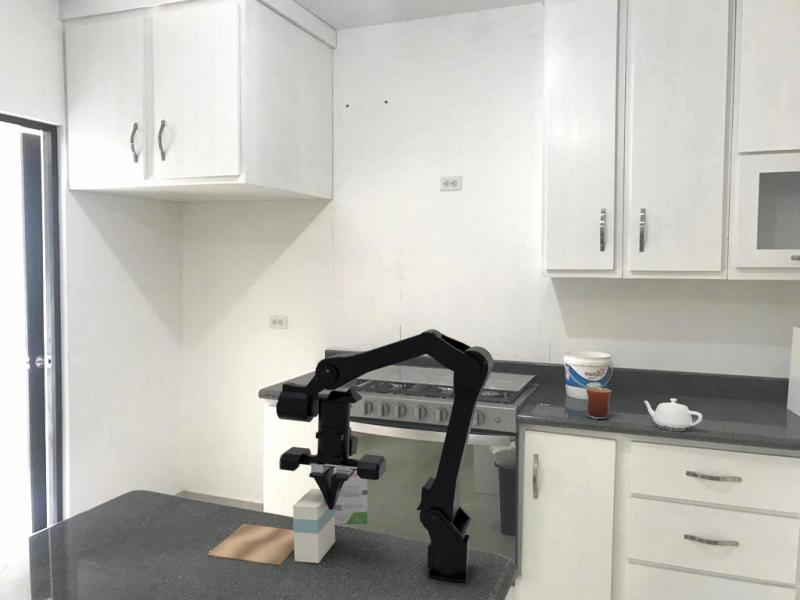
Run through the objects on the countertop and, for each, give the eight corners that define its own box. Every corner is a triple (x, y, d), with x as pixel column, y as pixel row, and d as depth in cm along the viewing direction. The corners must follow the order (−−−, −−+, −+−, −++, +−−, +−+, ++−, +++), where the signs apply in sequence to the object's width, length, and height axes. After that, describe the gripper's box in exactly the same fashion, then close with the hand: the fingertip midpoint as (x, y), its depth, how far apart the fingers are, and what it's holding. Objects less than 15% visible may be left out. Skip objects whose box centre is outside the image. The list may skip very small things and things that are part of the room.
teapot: (634, 425, 218) (635, 396, 217) (649, 419, 226) (651, 391, 226) (693, 437, 203) (695, 406, 203) (708, 430, 212) (709, 401, 211)
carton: (335, 541, 120) (334, 489, 119) (318, 563, 111) (317, 507, 110) (312, 539, 121) (311, 488, 120) (294, 561, 112) (292, 505, 111)
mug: (614, 421, 222) (615, 392, 222) (590, 421, 222) (592, 392, 221) (600, 413, 234) (601, 385, 234) (577, 413, 233) (578, 385, 233)
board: (309, 533, 123) (309, 532, 123) (279, 565, 110) (279, 564, 110) (243, 524, 126) (243, 523, 126) (207, 555, 113) (207, 554, 113)
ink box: (366, 515, 133) (367, 460, 132) (367, 525, 128) (368, 468, 127) (325, 516, 132) (326, 460, 131) (324, 525, 127) (325, 468, 127)
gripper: (394, 418, 119) (391, 499, 120) (302, 410, 124) (300, 488, 124) (379, 433, 109) (376, 521, 109) (278, 424, 113) (277, 509, 114)
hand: (331, 509), depth 115 cm, fingers closed
